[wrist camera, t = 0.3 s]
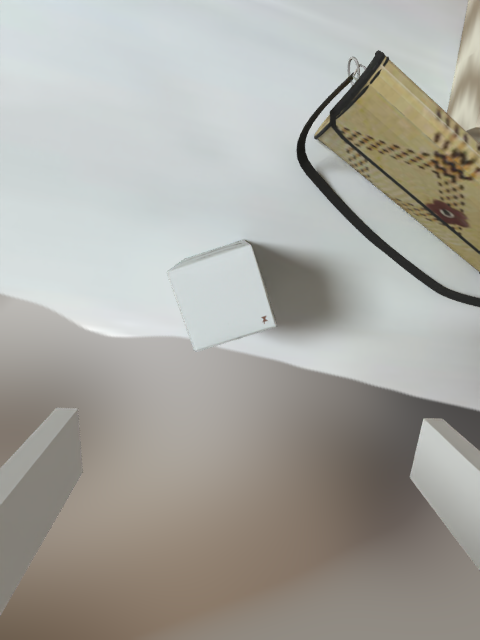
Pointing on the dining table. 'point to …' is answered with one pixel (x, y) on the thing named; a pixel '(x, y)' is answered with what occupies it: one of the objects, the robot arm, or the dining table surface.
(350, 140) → the clutch purse
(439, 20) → the dining table surface
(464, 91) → the block
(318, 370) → the dining table surface
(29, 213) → the dining table surface
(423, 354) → the dining table surface
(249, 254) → the supplement box
